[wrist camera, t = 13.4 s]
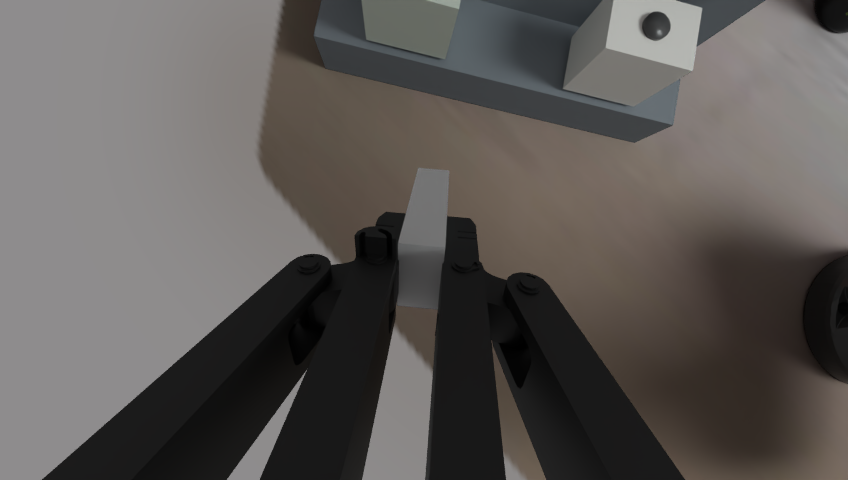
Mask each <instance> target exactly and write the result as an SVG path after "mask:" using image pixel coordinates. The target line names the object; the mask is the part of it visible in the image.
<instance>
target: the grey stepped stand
mask: <svg viewBox="0 0 848 480" xmlns="http://www.w3.org/2000/svg"><path fill="white" fill-rule="evenodd" d="M601 1H602V0H461V2H460V7H459V11H458V15H457V18H456V22H455V26H454V29H453V33H452V37H451V40H450V44H449V48H448V51H447V55H446V58H445V59H441V58H437V57H433V56H429V55H425V54H421V53H417V52H413V51H409V50H405V49H401V48H397V47H393V46H389V45H385V44H381V43H377V42H373V41H369V40H366V33H365V25H364V17H363V9H362V1H361V0H321V4H320V9H319V13H318V18H317V22H316V27H315V32H314V38H315V41H316V44H317V47H318V49H319V52H320V55H321V58H322V60H323V63H324V66H325V68H326V69H330V70H334V71H339V72H343V73H347V74H351V75H355V76H359V77H364V78H368V79H372V80H376V81H380V82H384V83H388V84H393V85H397V86H401V87H405V88H409V89H413V90H418V91H422V92H426V93H430V94H434V95H438V96H443V97H447V98H451V99H455V100H459V101H463V102H468V103H472V104H476V105H480V106H484V107H488V108H493V109H497V110H501V111H505V112H509V113H513V114H517V115H522V116H526V117H530V118H534V119H538V120H542V121H547V122H551V123H555V124H559V125H563V126H567V127H572V128H576V129H580V130H584V131H588V132H592V133H597V134H601V135H605V136H609V137H613V138H617V139H622V140H626V141H630V142H634V143H635V142H637V141H639V140H641V139H644V138H646V137H648V136H650V135H652V134H655V133H657V132H659V131H661V130H663V129H666V128H668V127H670V126H672V125H673V123H674V116H675V110H676V104H677V97H678V91H679V84H680V79H679V80H677V81H675V82H674V83H672V84H670V85H669V86H667V87H665V88H664V89H662V90H660V91H659V92H657V93H655V94H654V95H652V96H650V97H649V98H647V99H646V100H644V101H642V102H641V103H639V104H637V105H636V106H634V107H633V106H629V105H625V104H621V103H617V102H613V101H609V100H605V99H601V98H597V97H593V96H589V95H585V94H581V93H577V92H573V91H569V90H565V89H563V84H564V79H565V73H566V67H567V62H568V56H569V50H570V45H571V39H572V36H573V35H574V34H575V33H576V31H577V30H578V29H579V28H580V27H581V25H582V24H583V23H584V22H585V21H586V19H587V18H588V17H589V16H590V15H591V13H592V12H593V11H594V10H595V9H596V7H597V6H598V5H599V4H600V3H601ZM676 1H680V2H683V3H687V4H690V5H694V6H697V7H701V8H702V13H701V20H700V26H699V33H698V40H697V46H698V45H700V44H701V43H703V42H704V41H706V40H707V39H709V38H710V37H712V36H713V35H715V34H716V33H718V32H719V31H721V30H722V29H724V28H725V27H727V26H728V25H730V24H731V23H733V22H734V21H735V20H737V19H738V18H740V17H741V16H743V15H744V14H746V13H747V12H749V11H750V10H752V9H753V8H755V7H756V6H758V5H759V4H761V3H762V2H764V1H765V0H676ZM697 46H696V47H697Z"/></svg>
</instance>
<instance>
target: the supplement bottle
mask: <svg viewBox="0 0 848 480" xmlns="http://www.w3.org/2000/svg"><path fill="white" fill-rule="evenodd" d="M815 12H816V15H817V17H818V19H819V21H820V22H821V23H822V25H823V26H825V27H826V28H827V29H829V30H831V31H833V32H838V33H846V32H848V0H815Z"/></svg>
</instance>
